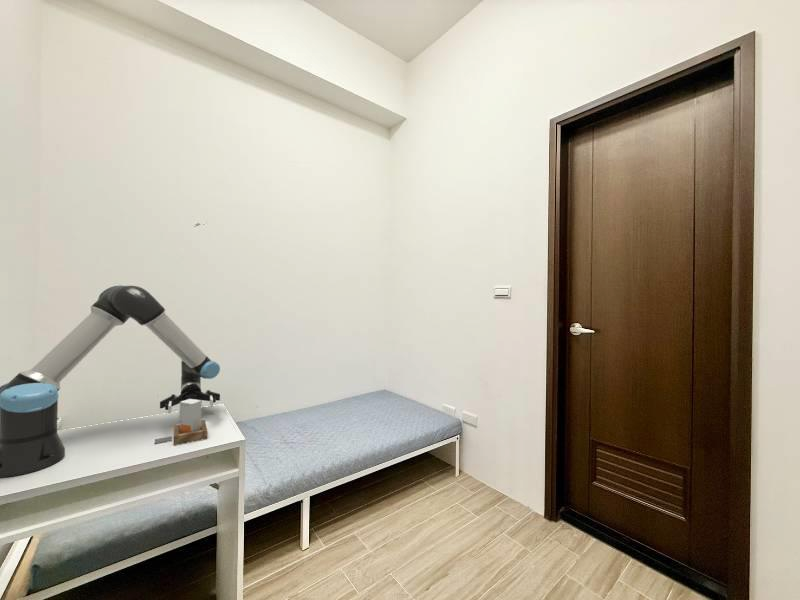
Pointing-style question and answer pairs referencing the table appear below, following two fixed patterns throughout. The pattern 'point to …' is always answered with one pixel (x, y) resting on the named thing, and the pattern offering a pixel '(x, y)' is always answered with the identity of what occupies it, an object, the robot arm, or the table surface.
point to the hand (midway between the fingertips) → (191, 406)
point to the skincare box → (190, 416)
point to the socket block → (189, 434)
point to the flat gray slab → (163, 440)
